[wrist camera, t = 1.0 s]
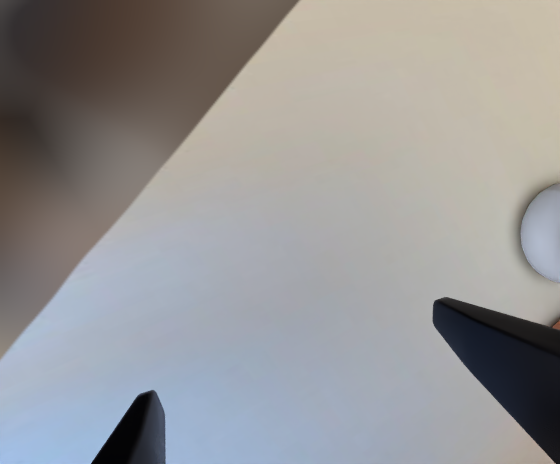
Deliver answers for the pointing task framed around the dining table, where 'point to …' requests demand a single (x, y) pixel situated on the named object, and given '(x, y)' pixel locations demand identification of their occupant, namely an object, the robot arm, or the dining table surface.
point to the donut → (543, 233)
